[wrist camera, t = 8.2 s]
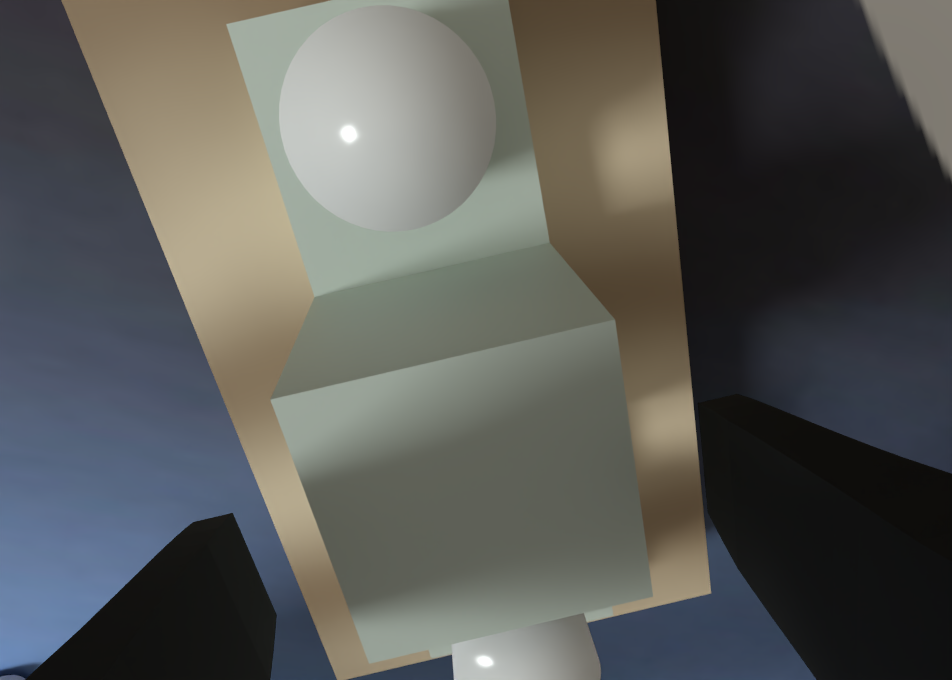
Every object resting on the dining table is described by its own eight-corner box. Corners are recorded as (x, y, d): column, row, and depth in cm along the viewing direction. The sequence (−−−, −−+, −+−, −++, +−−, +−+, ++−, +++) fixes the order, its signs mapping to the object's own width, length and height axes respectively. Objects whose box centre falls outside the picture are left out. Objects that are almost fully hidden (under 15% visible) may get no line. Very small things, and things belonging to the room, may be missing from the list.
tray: (597, 574, 18) (679, 791, 13) (429, 614, 18) (438, 849, 13) (491, -26, 13) (556, -108, 7) (246, 29, 13) (117, -8, 7)
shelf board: (678, 537, 21) (711, 593, 19) (345, 615, 21) (338, 681, 19) (604, -111, 14) (642, -147, 12) (112, 1, 14) (56, -14, 12)
